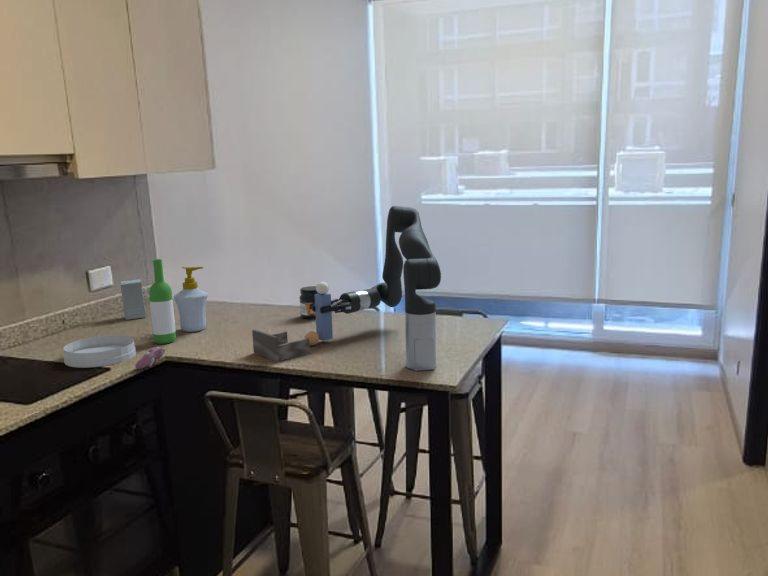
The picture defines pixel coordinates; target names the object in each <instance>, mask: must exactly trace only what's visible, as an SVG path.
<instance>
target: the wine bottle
mask: <svg viewBox="0 0 768 576" xmlns="http://www.w3.org/2000/svg"><path fill="white" fill-rule="evenodd" d="M152 260H153V261H152V262H153V273H154V283H152V285H151V286H150V287H149V291H148V295H149V305H150V306H149V308H150V316H151V328H152V330H151V331H152V337H153V342H154V343H155V344H159V345H165V344H170V343H173V342H175V341H176V339H177V335H176V333H177V332H176V322H175V312H174V300H173V299H174V298H173V292H172V289H171V286H170V285H169V284H168V283H167V282H166V281H165V280H164V269H163V267H164V266H163V260H162V259H161V258H158V259H157V258H156V259H152Z"/></svg>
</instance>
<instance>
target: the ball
mask: <svg viewBox="0 0 768 576" xmlns="http://www.w3.org/2000/svg"><path fill="white" fill-rule="evenodd" d="M306 338H309V345H310V346H311V347H314V346H316V345H317V344H318V343H319V341H320V340H319V336H318V334H317V333H316V331H311V330H310V331H307V332H306V334H305V336H304V339H306Z"/></svg>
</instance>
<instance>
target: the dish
mask: <svg viewBox="0 0 768 576" xmlns="http://www.w3.org/2000/svg"><path fill="white" fill-rule="evenodd" d="M62 348H63V361H64V364H65V365H66V366H68V367H70V368H71V367H72V368H80V369H81V368H84V369H85V368H86V369H87V368H99V367H107V366H112V365H116V364H118V363H119V364H120V363H122V362H125V361H128V360H130V359H132V358H134V357H135V356H136V355H137V352H136V345H135V338H133V337H132V336H128V335H123V334H122V335H119V334H118V335H115V334H112V335H111V334H110V335H100V336H99V335H98V336H93V337H92V336H91V337H86V338H82V339H77V340H75V341H72V342H70V343H67V344H66V345H65V346H63V347H62Z"/></svg>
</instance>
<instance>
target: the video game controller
mask: <svg viewBox="0 0 768 576" xmlns="http://www.w3.org/2000/svg"><path fill="white" fill-rule="evenodd" d="M165 351H166V350H165V349H164V348H163V347H159V346H157V347H156V346H155V347H151V348H149V349H148V351H146V353H145V354H144V355H143V356H142V358H140V359H139V360H138V361H137V362H136V363H135V367H134V368H135V369H136V370H142V369H144V368H145V367H148V368H151V367H153V365H154V364H155V365H157V364H158V363H159V362H160V359H162V357H163V356H164V354H165Z"/></svg>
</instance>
